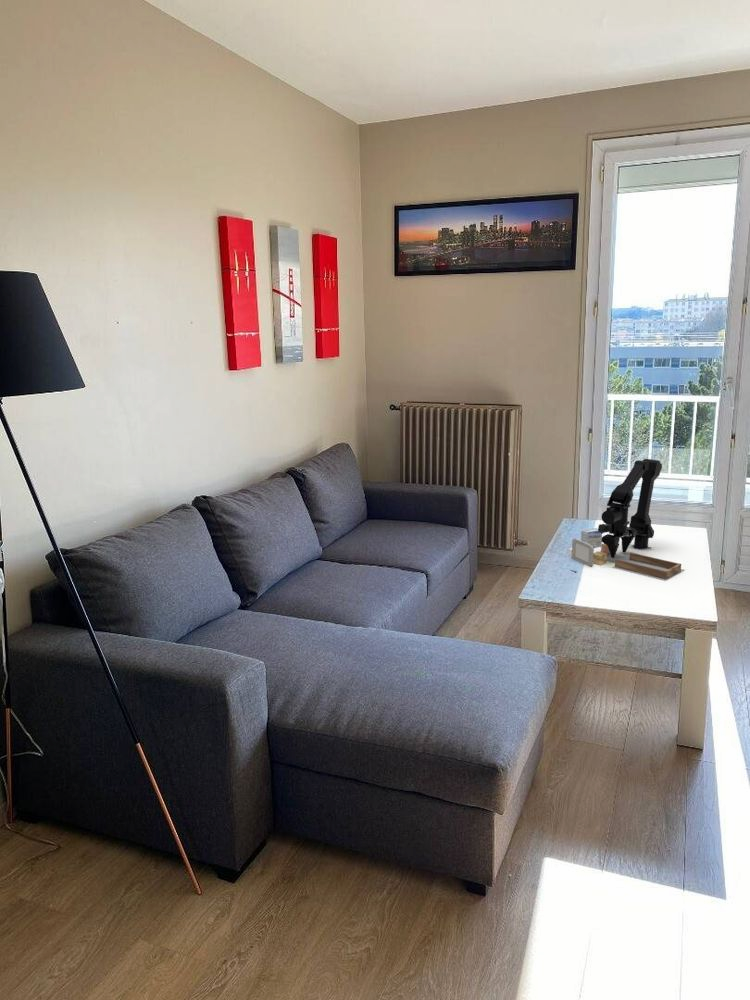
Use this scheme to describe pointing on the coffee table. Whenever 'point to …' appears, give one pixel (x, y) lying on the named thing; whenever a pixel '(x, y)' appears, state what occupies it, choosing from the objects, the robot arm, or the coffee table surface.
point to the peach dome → (605, 549)
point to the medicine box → (592, 537)
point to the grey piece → (582, 552)
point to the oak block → (599, 558)
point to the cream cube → (570, 551)
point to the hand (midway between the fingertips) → (618, 555)
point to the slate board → (611, 563)
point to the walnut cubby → (671, 566)
